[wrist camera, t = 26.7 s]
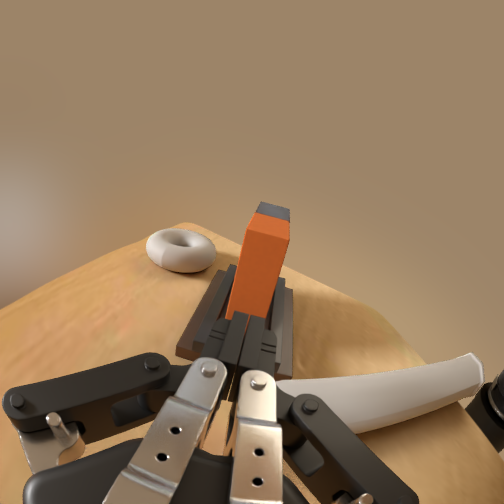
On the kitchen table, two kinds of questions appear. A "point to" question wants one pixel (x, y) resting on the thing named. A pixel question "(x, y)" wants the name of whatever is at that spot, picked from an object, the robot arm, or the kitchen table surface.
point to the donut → (181, 250)
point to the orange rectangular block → (259, 266)
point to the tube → (393, 392)
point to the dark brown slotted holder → (217, 305)
